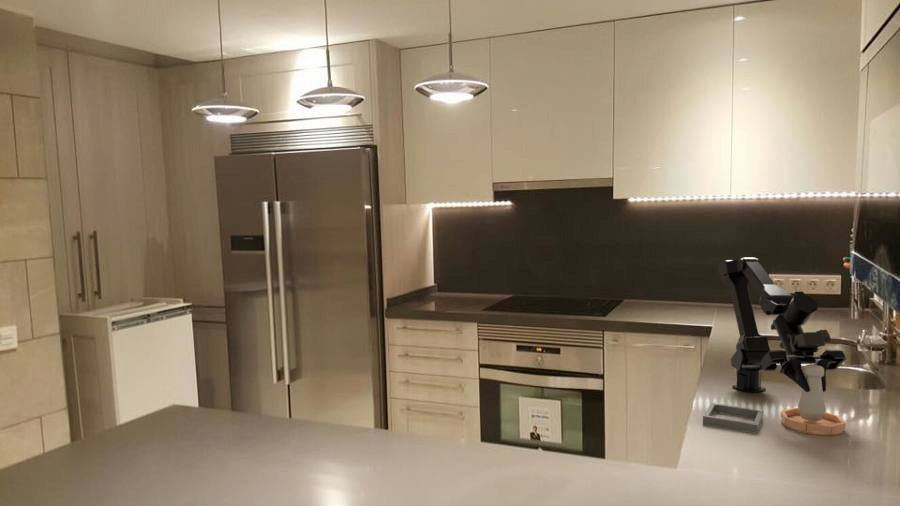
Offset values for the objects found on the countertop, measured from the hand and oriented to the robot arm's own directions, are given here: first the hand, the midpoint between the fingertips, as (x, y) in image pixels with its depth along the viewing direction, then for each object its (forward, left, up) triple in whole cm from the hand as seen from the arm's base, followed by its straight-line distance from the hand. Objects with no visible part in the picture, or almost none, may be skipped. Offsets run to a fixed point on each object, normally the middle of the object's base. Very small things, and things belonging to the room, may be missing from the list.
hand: (816, 391), depth 150 cm
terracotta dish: (-1, -1, -9) cm, 9 cm away
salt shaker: (-1, -1, -7) cm, 7 cm away
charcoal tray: (+13, -12, -9) cm, 20 cm away
